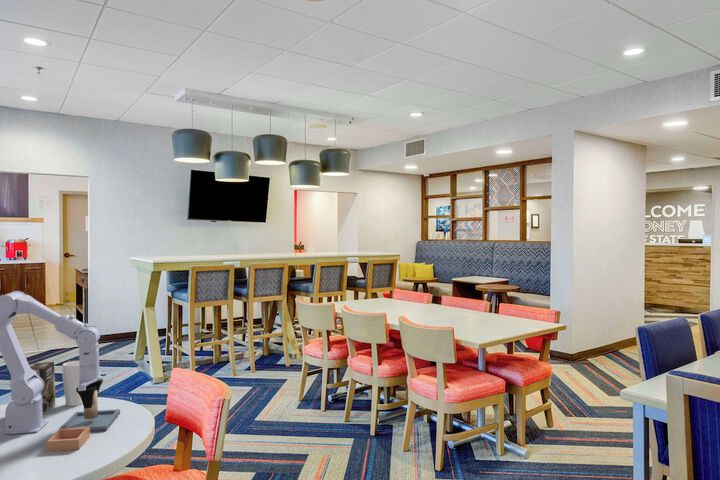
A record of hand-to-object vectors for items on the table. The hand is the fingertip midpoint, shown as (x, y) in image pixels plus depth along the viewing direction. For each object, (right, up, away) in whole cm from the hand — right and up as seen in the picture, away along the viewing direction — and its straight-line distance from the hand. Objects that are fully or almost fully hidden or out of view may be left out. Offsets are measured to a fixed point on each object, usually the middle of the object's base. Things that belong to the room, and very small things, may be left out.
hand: (90, 405), depth 165 cm
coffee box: (-23, -6, +11) cm, 26 cm away
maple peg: (0, -4, 0) cm, 4 cm away
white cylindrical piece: (-15, -5, +17) cm, 23 cm away
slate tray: (0, -6, 0) cm, 6 cm away
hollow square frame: (+1, -7, -15) cm, 16 cm away
